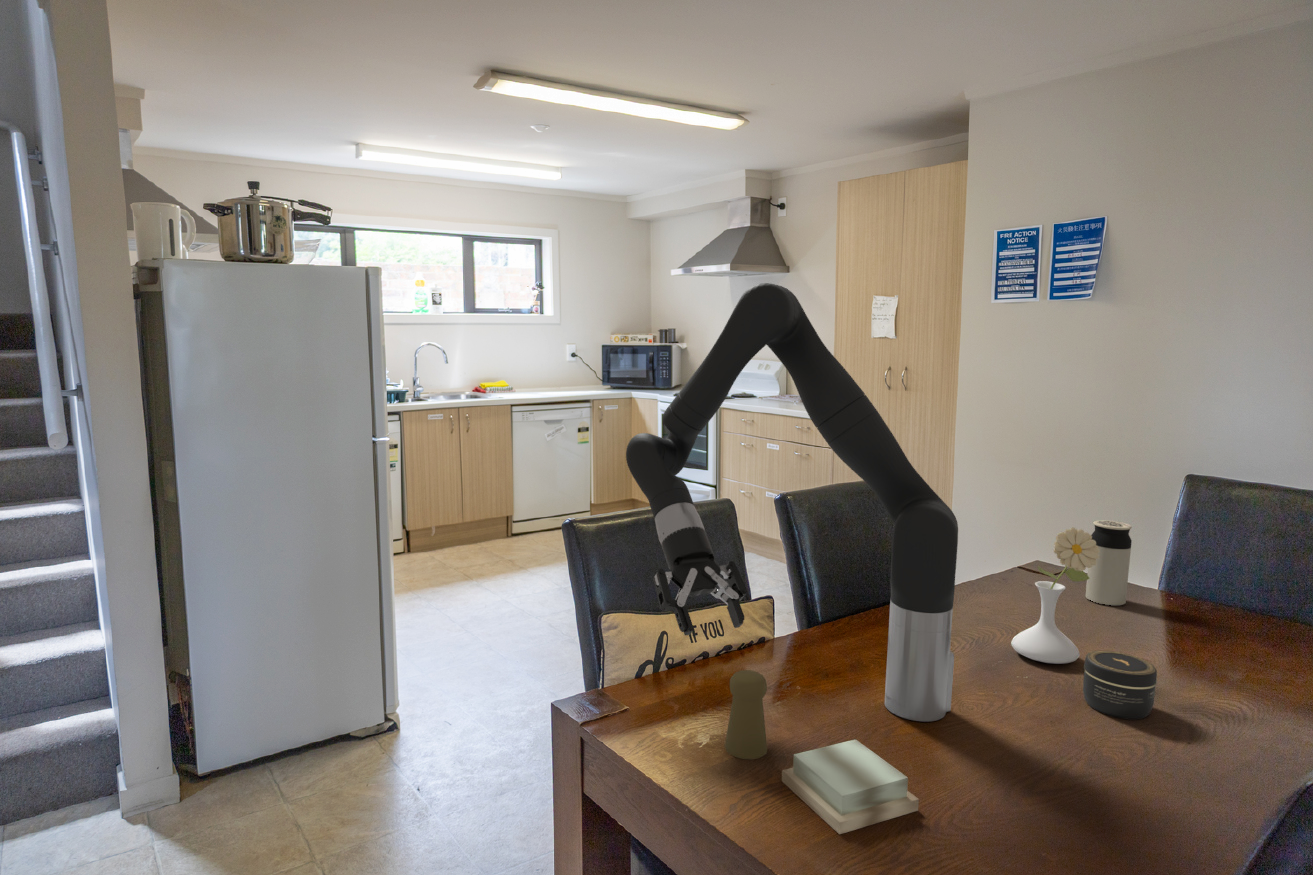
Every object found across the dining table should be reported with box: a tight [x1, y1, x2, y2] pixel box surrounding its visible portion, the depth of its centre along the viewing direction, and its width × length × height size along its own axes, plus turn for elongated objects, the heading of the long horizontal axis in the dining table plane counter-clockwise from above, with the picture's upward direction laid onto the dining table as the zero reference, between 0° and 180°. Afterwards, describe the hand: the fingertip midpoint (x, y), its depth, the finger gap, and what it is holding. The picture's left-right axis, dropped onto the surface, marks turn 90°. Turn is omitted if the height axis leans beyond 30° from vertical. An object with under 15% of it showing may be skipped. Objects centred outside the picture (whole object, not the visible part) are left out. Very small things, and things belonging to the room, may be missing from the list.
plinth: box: [781, 738, 920, 835], centre depth 98 cm, size 12×12×4 cm
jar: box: [1082, 650, 1158, 720], centre depth 123 cm, size 10×10×8 cm
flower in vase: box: [1010, 527, 1100, 665], centre depth 142 cm, size 13×11×25 cm
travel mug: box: [1085, 520, 1133, 607], centre depth 175 cm, size 8×8×18 cm
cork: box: [724, 669, 768, 760], centre depth 108 cm, size 6×6×11 cm
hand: (714, 629), depth 116 cm, fingers open, 8 cm apart
